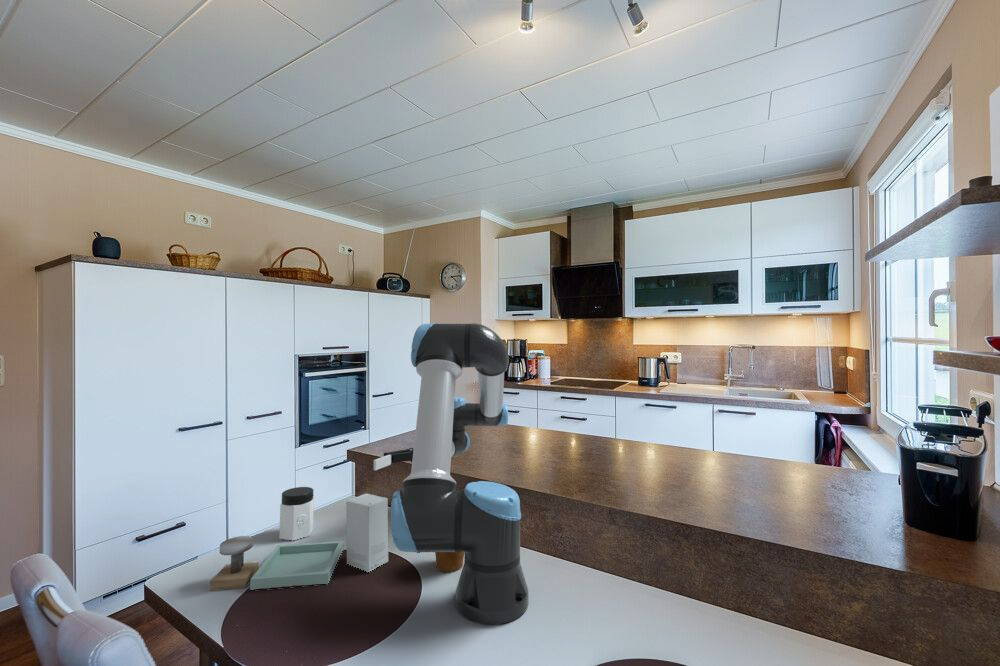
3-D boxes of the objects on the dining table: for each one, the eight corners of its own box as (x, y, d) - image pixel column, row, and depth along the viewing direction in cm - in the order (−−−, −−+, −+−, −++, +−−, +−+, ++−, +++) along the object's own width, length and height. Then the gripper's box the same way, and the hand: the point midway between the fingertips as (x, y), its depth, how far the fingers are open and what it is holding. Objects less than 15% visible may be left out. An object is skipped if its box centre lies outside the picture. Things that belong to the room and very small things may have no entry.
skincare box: (388, 562, 101) (390, 498, 102) (367, 574, 95) (368, 506, 96) (365, 553, 105) (367, 491, 106) (343, 564, 100) (345, 499, 100)
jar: (283, 544, 110) (285, 498, 111) (274, 534, 116) (276, 491, 117) (318, 534, 116) (319, 491, 117) (308, 525, 122) (309, 484, 123)
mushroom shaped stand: (245, 587, 90) (246, 548, 90) (210, 590, 89) (211, 550, 89) (258, 570, 97) (259, 534, 97) (225, 573, 95) (227, 536, 96)
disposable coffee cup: (475, 560, 102) (476, 510, 103) (458, 579, 93) (458, 525, 94) (442, 553, 106) (442, 505, 106) (422, 571, 97) (422, 519, 97)
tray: (328, 584, 91) (328, 573, 91) (249, 590, 88) (250, 579, 89) (343, 550, 107) (343, 540, 107) (277, 555, 104) (277, 545, 104)
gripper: (472, 467, 125) (433, 489, 105) (405, 458, 135) (358, 476, 116) (472, 442, 125) (433, 459, 106) (405, 435, 135) (359, 449, 116)
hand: (394, 468), depth 111 cm, fingers open, 13 cm apart
